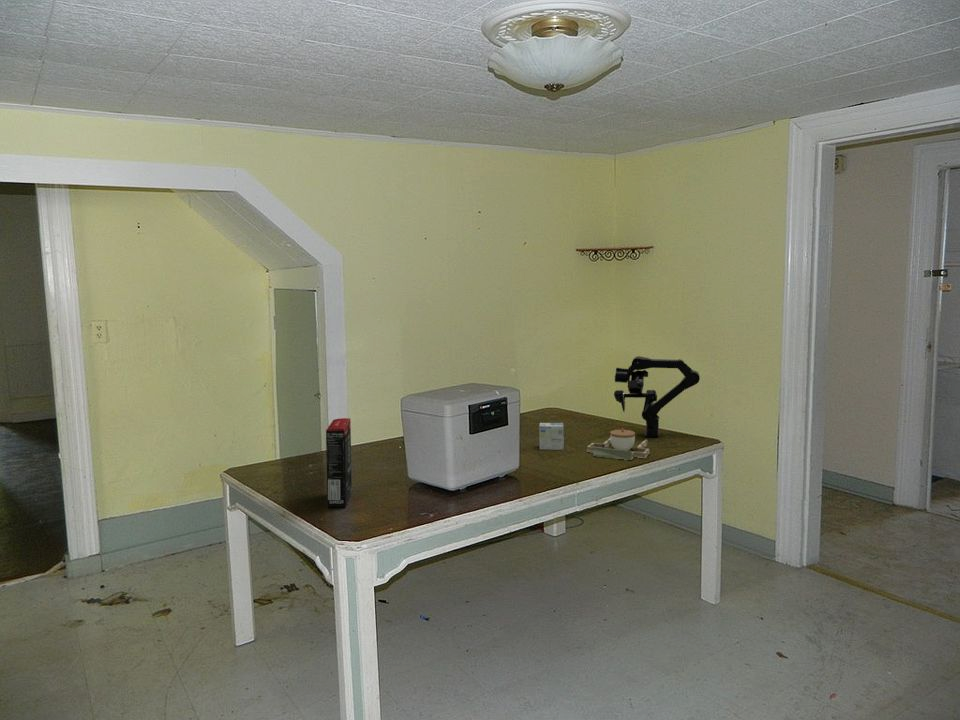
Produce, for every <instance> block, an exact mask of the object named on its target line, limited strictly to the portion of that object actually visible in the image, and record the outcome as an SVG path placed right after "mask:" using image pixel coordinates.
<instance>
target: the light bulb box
mask: <svg viewBox="0 0 960 720" xmlns="http://www.w3.org/2000/svg"><path fill="white" fill-rule="evenodd" d="M538 432H539V434H538V435H539V439H538V440H539V450H548V451H549V450H551V451H552V450H555V451H556V450H557V451H559V450H560V451H561V450H562V451H564V446H565V443H564V441H565V439H564V437H565V435H564V434H565V433H564V432H565V431H564V422H539V430H538Z"/></svg>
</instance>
